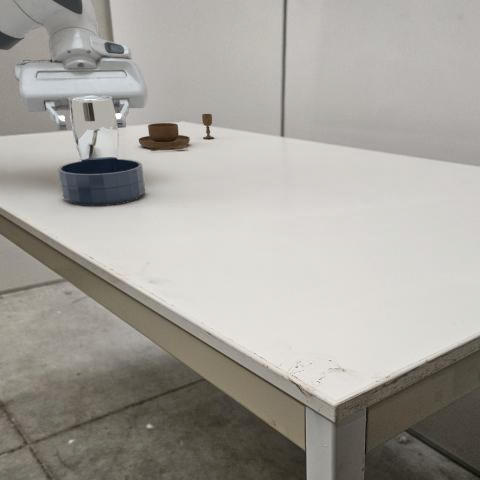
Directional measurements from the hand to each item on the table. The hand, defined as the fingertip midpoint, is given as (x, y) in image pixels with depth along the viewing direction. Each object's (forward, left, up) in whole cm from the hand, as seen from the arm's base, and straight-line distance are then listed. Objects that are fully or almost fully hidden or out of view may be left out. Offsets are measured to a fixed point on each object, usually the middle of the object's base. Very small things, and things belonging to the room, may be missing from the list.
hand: (92, 126), depth 102 cm
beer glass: (+1, -5, -10) cm, 11 cm away
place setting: (+13, +46, -11) cm, 49 cm away
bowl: (+1, -5, -11) cm, 12 cm away
